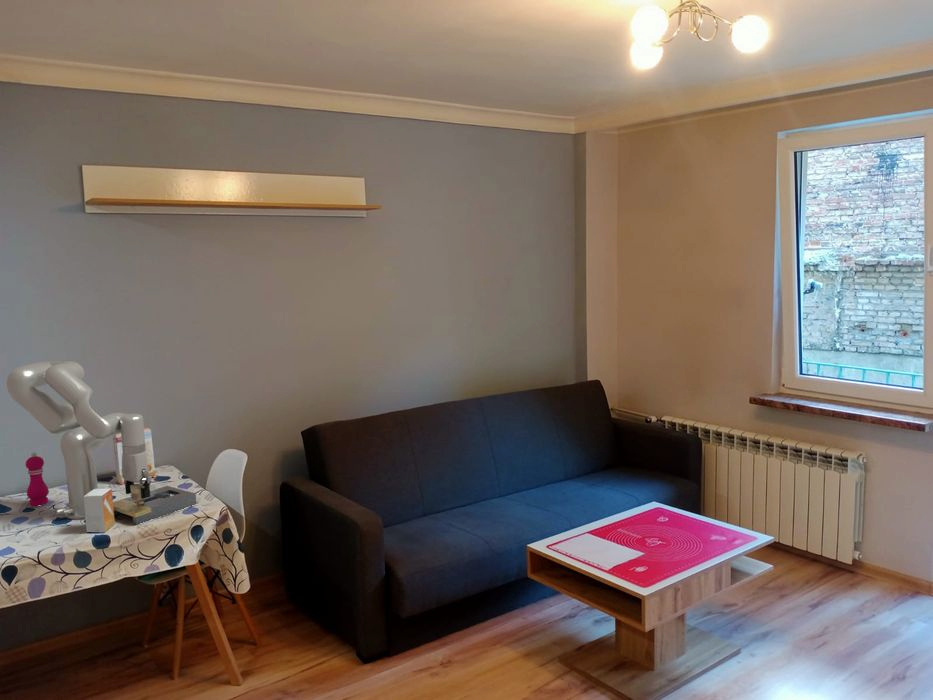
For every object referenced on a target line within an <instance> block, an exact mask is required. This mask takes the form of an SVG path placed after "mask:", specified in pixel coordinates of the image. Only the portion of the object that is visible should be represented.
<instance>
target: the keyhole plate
mask: <svg viewBox="0 0 933 700" xmlns="http://www.w3.org/2000/svg"><path fill="white" fill-rule="evenodd" d="M195 504H197V494H196V493H195V492H192V491H187V490H184V489H181V488H178V487H177V488H176V487H173V486H169V485H165V486H162V487H159V488H155V489H150V497H148V498H145V499H144V503H142V504H137V501H136V500H134V499H132V498H131V496H129V497H128V496H127V497H126V498H123V499H119V500H115V501H113V509H114V516H117V515H121V514H125V515H127V516H130V517H132V521H133V526H135V525H137V526H139V525H138V524H140V523H143V522H146V521H149V520H151V519H155V518H158V517H160V516H163V515H166V516H168V515H167V514H169V515H171V514H170V513H172V514H174V513H173V512H175V511H178V510H181V509H184V508H186V507H189V506H192V505H195ZM184 510H185V509H184ZM181 511H182V510H181ZM178 512H179V511H178ZM175 513H176V512H175ZM158 519H159V518H158ZM155 520H156V519H155ZM149 522H150V521H149ZM146 523H147V522H146ZM143 524H144V523H143ZM140 525H141V524H140Z"/></svg>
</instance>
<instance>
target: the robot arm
mask: <svg viewBox="0 0 933 700" xmlns="http://www.w3.org/2000/svg"><path fill="white" fill-rule="evenodd" d="M85 374H86V373H85V369H84V368H83V366H82V365H81V364H79V363H78V362H76V361H73V360H72V361H71V360H68V361H67V360H65V361H62V360H61V361H59V360H58V361H57V360H56V361H52V360H50V361H49V360H48V361H40V362H34V363H30V364H25V365H22V366H18V367H16V368H14V369H13V370H11V371H10V372H9V373H8V375H7V377H6V390H7V391H8V394H9V396H10V398H12V399H13V400H14V401H15V402H16V403H17V404H18V405H19V406H21V407H22V408H23V409H24V410H26V412H27V413H29V414H30V415H31V416H32V417H33V418H34V419H35V420H36V421H37V422H38V423H39V424H40V425H41V426H42V427H43V428H44V429H45V430H47V431H48V432H49V433H50V434H54V435H55V434H56V435H58V434H61V433H64V434H63V435H62V436H61V439H60V442H59V444H60V445H59V446H60V447H59V448H60V451H61V452H62V456H63V460H64V466H65V476H66V485H67V494H68V503H66V504H65V506H64V507H61V508H59V509H55V515H56V516H60V515H64V516H65V518H67V519H71V520H79V519H80V520H82V519H86V518H85V507H84V496H85V495H86V494H88V493H89V492H91V491H92V490H93V489H99V488H98V478H97V477H98V476H97V469H96V462H95V459H94V457H93V455H92V454H91V452H92V451H93V450H96V449H97V448H100V447H102V446H103V445H104V444H105V443H106V442H107V439H108V438H110V437H113V435H116V434H119V433H121V438H122V450H123V454H122V470H121V471H122V477H123V479H124V483H125V484H124V488H125V489H124V490H125V494H126V495H129V494H130V495H131V488H130V485H133V484H137V483H140V485H141V487H142V488H140V490H141V498H142V499H144V498H147V497H150V491H151V489H150V488H151V487H150V486H151V483H152V479H153V478H152V477H151V475H150V474H149V470H148V463H147V458H146V453H145V452H146V447H145V435H144V428H145V425H144V417H143V415H141V414H140V413H124V412H112V413H109V414H106V415H104V416H100V415H99V414H98V413H97V412H95V410H93V409H92V407H91V405H90V399H91V398H92V396H93V394H94V391H93V389H92V387H90V386H89V385H88V384H87V383H85V381H83V380H84V378H85ZM45 385H48V386H49V387H51V389H53V390H54V391H55V392H56V393H57V394H58V395H59V396H60V397H61V398H63V399H64V400H65V401H66V402H67V403H65V404H64V403H63V404H59V403H57V402H56V401H55V400H54V399H53V398H52V397H51V396H50V395H48V394H47V393H46V392H43V391H42V390H39V389H37V387H43V386H45ZM143 483H144V484H143Z"/></svg>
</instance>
